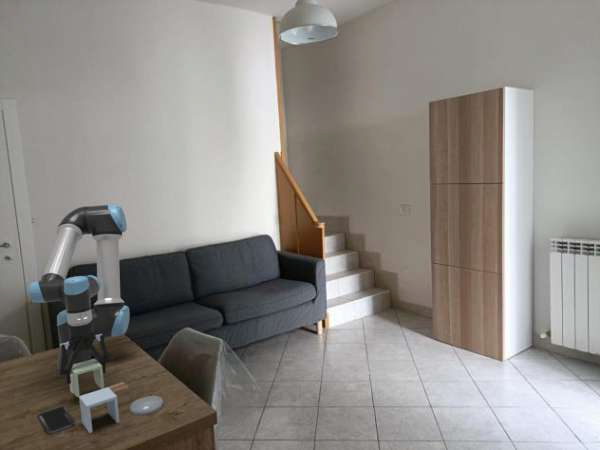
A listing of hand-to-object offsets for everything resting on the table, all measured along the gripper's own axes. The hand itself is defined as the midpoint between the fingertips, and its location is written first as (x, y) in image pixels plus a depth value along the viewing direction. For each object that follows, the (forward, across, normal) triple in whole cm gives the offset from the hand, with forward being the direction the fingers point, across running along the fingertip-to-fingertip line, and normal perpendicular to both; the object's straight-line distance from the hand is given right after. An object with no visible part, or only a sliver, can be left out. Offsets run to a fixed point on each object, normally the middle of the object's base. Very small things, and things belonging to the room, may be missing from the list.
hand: (87, 387), depth 158 cm
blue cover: (+4, -2, -21) cm, 21 cm away
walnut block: (+4, +7, -11) cm, 13 cm away
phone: (+4, -12, -10) cm, 16 cm away
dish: (+4, +12, -22) cm, 25 cm away
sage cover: (+1, 0, 0) cm, 1 cm away
